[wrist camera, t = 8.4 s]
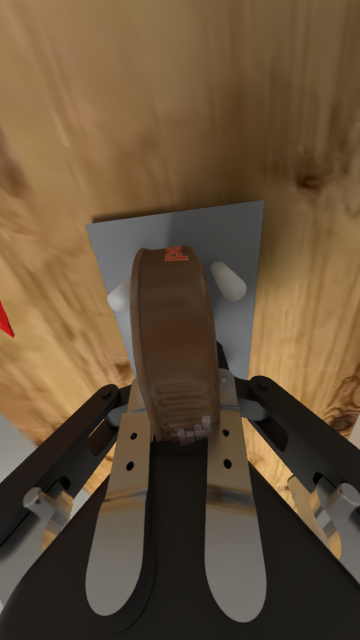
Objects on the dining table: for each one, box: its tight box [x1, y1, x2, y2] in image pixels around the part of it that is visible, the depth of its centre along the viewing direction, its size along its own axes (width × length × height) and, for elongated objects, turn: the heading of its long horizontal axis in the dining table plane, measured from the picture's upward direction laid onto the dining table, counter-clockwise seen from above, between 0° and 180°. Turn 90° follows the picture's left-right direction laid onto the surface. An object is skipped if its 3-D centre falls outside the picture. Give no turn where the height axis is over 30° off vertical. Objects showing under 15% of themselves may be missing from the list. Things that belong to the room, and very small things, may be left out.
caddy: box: [85, 200, 265, 380], centre depth 14 cm, size 12×18×6 cm, turn 7°
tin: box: [129, 246, 220, 446], centre depth 11 cm, size 15×3×8 cm, turn 6°
